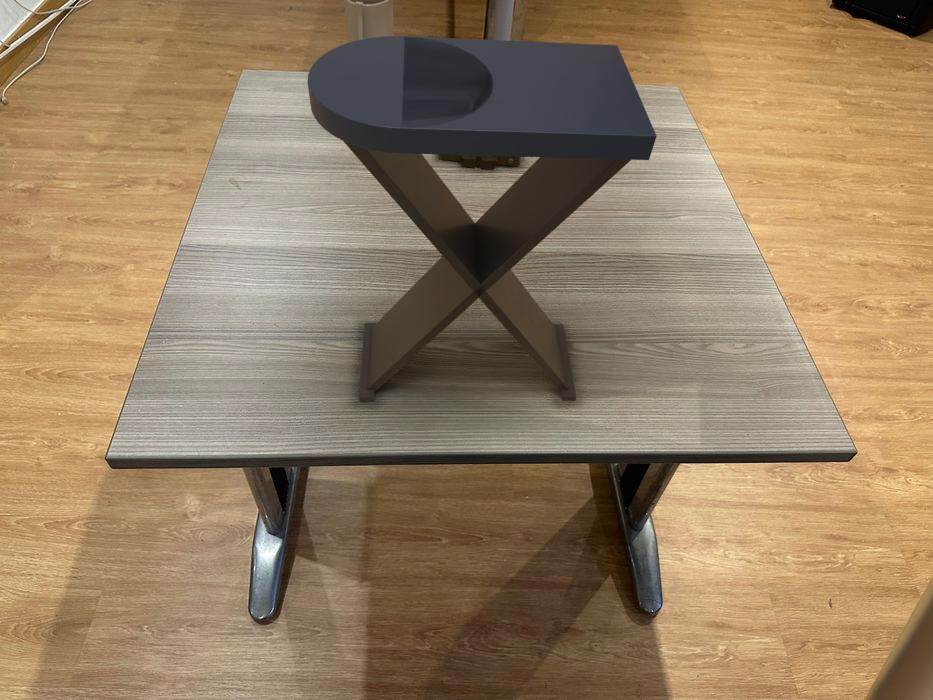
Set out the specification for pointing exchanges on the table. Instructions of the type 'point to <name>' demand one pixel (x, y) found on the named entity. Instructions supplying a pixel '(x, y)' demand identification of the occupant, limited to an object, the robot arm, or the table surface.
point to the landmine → (483, 160)
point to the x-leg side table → (485, 134)
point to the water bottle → (368, 19)
